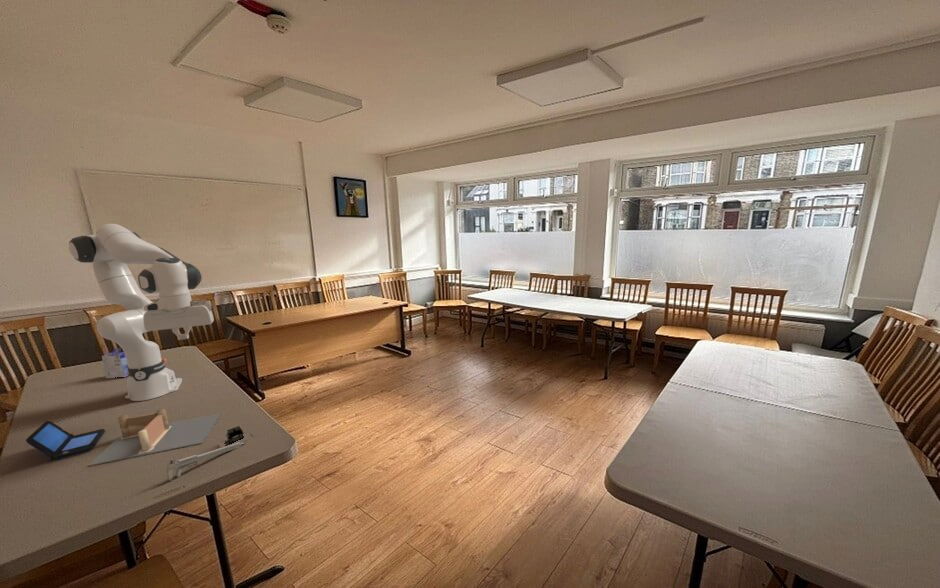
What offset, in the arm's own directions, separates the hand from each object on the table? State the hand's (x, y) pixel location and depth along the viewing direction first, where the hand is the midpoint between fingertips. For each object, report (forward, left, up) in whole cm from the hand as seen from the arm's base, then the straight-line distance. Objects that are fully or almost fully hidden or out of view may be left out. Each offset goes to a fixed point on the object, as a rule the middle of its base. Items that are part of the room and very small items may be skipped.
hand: (183, 339), depth 132 cm
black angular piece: (+25, +18, -32) cm, 45 cm away
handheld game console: (+7, -34, -32) cm, 47 cm away
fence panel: (+15, -8, -30) cm, 35 cm away
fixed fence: (+7, -13, -31) cm, 34 cm away
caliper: (+35, +14, -32) cm, 49 cm away
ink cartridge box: (-69, -55, -31) cm, 94 cm away
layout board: (+12, -7, -31) cm, 34 cm away
